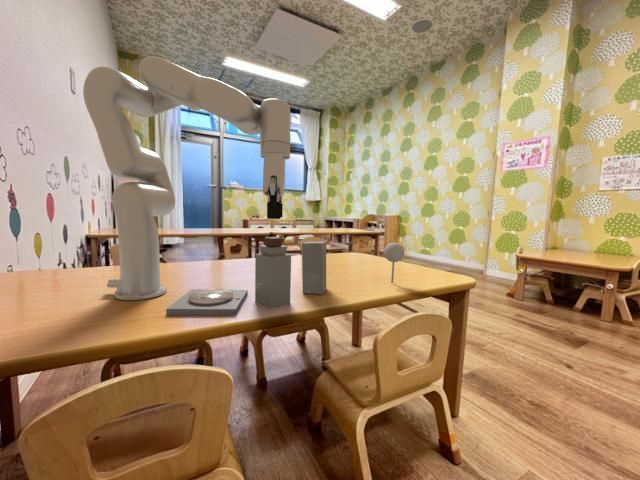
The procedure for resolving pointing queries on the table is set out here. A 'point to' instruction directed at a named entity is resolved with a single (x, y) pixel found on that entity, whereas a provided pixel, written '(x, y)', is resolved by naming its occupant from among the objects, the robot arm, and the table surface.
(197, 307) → the mount base
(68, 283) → the table surface
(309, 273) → the skincare box
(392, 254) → the lollipop
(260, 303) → the perfume bottle
